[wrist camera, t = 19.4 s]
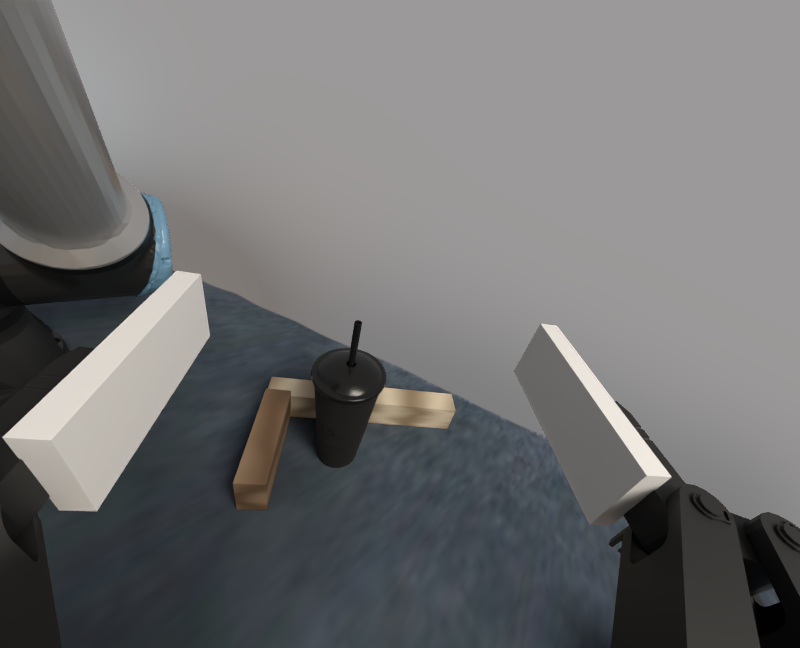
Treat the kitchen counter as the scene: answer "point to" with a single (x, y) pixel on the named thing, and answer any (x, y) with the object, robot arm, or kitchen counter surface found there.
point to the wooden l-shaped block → (300, 402)
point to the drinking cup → (344, 399)
